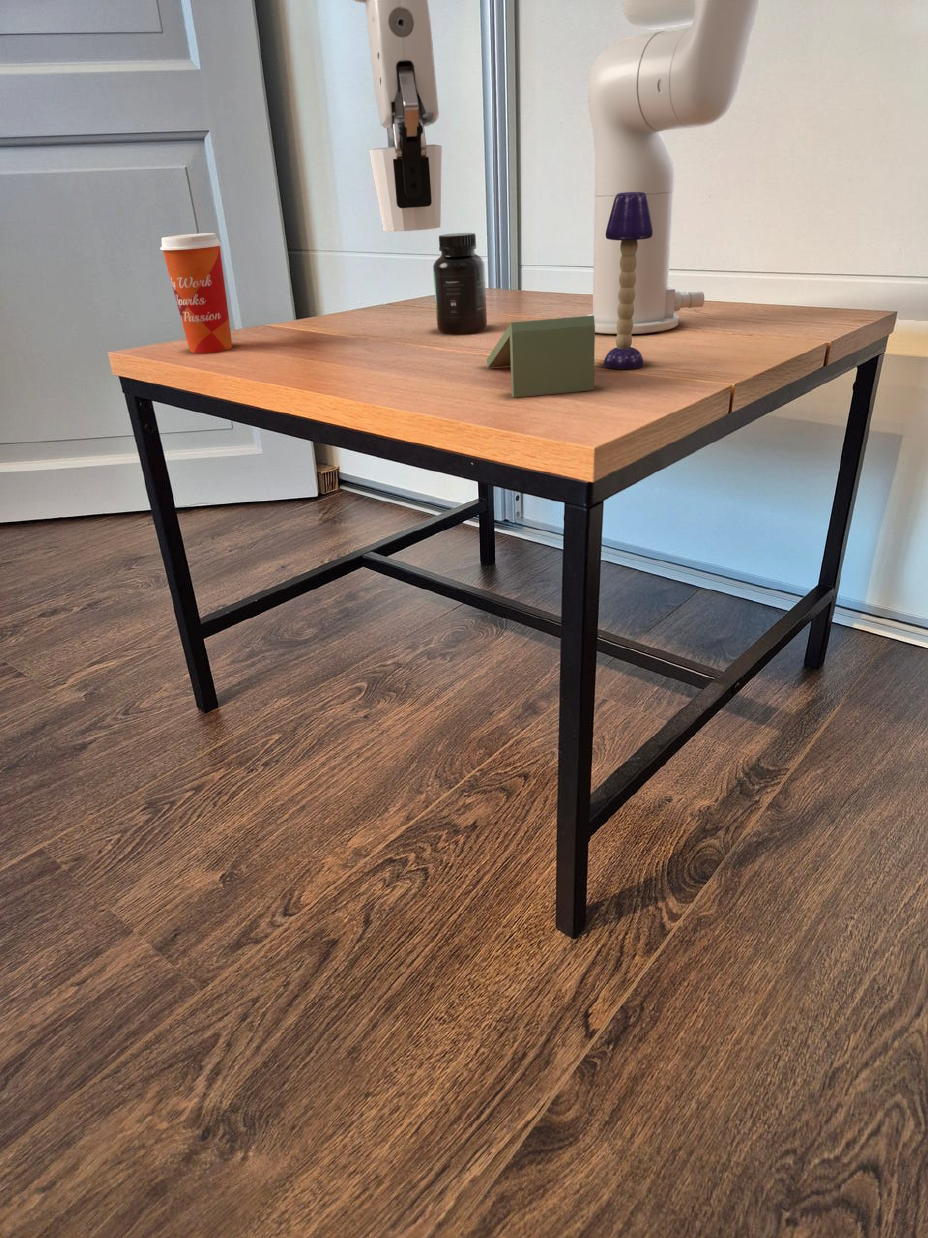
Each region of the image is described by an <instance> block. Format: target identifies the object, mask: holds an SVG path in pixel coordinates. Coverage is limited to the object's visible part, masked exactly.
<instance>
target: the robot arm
mask: <svg viewBox="0 0 928 1238" xmlns="http://www.w3.org/2000/svg"><path fill="white" fill-rule="evenodd" d="M353 1H354V2H357V3H360V4H361V3H363V4H365V11H366V12H365V13H366V22H367V32H368V33H367V34H368V45H369V53H370V63H371V69H372V70H371V71H372V81H373V87H374V95H375V101H376V106H377V113H378V119H379V124H380V126H381V127H383V128H384V129H385V130H386V134H387V147H395V153H396V159H393V166H394V177H395V189H396V201H397V206H398V207H399V208H413V207H428V206H430V205H431V203H432V199H431V184H430V169H429V157H427V148H426V145H427V140H426V139H427V138H426V132H425V127H429V126H431V125H433V124H435V123H436V122H437V121H438V119H439V117H440V116H439V115H440V113H439V110H440V109H439V100H438V99H439V98H438V92H437V91H438V89H437V80H436V67H435V66H436V65H435V57H434V56H435V55H434V45H433V44H434V43H433V32H432V23H431V15H430V7H429V2H428V1H429V0H353ZM760 5H761V0H621V8H622V12H623V14H624V16H625V18H626V19H627V21H628V22H629V23H630V24H631V25H633V26H634V27H636V28H639V29H643V30H644V29H645V30H662V29H663V30H662V31H656V32H655V31H654V32H649V33H644V34H638V35H633V36H629V37H625V38H622V39H619V40H617V41H615V42H613V43H611V44H609V45H607V46H606V47H605V48H604V49H602V51H601V52H600V53H599V54H598V55H597V57H596V58H595V60H594V61H593V63H592V65H591V68H590V71H589V74H588V79H587V103H588V110H589V115H590V122H591V128H592V136H593V146H594V148H593V149H594V216H593V217H594V218H593V222H594V224H593V275H592V276H593V277H592V278H593V279H592V313H590V314H587V315H586V316H592V315H593V316H594V322H595V334H606V335H617V334H618V332H617V321H618V319H619V317H618V314H617V309H618V305H619V303H620V302H619V298H618V294H619V289H620V287H621V286H620V283H619V276H620V273H621V269H620V259H621V256H622V254H621V250H620V245H621V241H622V240H610V239H607V238H606V229H607V225H608V221H609V218H610V214H611V210H612V207H613V203H614V199H615V197H616V195H617V194H618V193H624V192H644V193H645V194H646V196H647V201H648V206H649V212H650V218H651V223H652V230H653V234H652V237H650V238H648V239H640V240H637V242H638V248H637V252H636V254H635V255H636V258H637V266H636V269H635V273H636V282H635V285H634V288H635V299H634V301H633V304H634V314H633V317H632V319H633V329H632V332H631V335H638V334H639V335H640V334H653V333H658V332H663V331H668V330H671V329H674V328H676V327H677V326H678V325H679V315H678V314H676V312H679V311H681V309H684V308H688V309H691V308H692V309H693V308H702V307H703V306H704V304H705V293H704V291H702V290H701V291H700V290H699V291H689V292H686V291H682V292H680V291H679V290H676V288H674V287H670V286H669V278H670V263H671V261H670V259H671V242H672V241H671V240H672V225H673V208H674V192H675V167H674V163H673V160H672V156H671V153H670V151H669V149H668V147H667V145H666V142H665V140H664V138H663V136H662V134H661V132H664V131H673V130H684V129H694V128H695V129H696V128H702V127H708V126H712V125H713V124H716V123H717V122H719V121H721V119H723V118H724V117H725V116H726V115H727V113H728V112H729V111H730V109H731V108H732V106H733V104H734V102H735V99H736V97H737V94H738V90H739V87H740V84H741V80H742V77H743V74H744V73H743V72H744V69H745V65H746V61H747V58H748V54H749V48H750V44H751V42H752V41H751V40H752V36H753V32H754V28H755V25H756V21H757V16H758V13H759V9H760ZM687 25H691V26H689V27H682V28H678V29H672V30H664V29H670V28H676V27H681V26H687ZM401 158H402V159H401Z"/></svg>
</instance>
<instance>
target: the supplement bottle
mask: <svg viewBox="0 0 928 1238" xmlns="http://www.w3.org/2000/svg"><path fill="white" fill-rule="evenodd" d="M476 236H477V235H476V233H474V232H457V233H454V232H453V233H446V234H440V235H438V251H439V252H441V253H440V254H441V255H440V256H439V257H438V258H437V259H436V260H435V261H434V262H433V265H432V269H433V285H434V300H435V301H434V302H435V315H436V326H437V330H438V332H439V333H440V334H443V335H470V334H475V333H480V332H483V331H485V330H486V329H487V326H488V313H487V311H488V310H487V289H486V288H487V287H486V286H487V285H486V267H485V261H484V260H483V258H482V257H481V256H479V255H478V254H476V249H477V247H478V246H477V245H478V244H477V237H476Z"/></svg>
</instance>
